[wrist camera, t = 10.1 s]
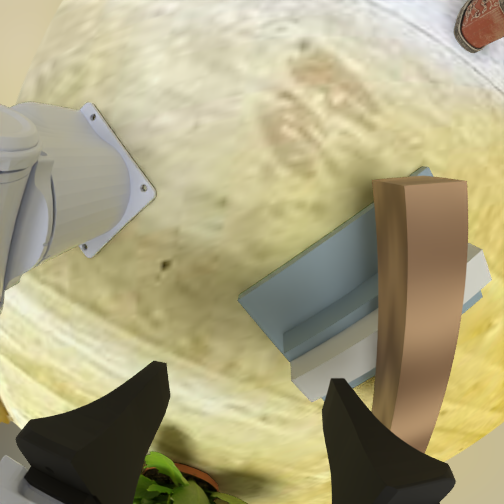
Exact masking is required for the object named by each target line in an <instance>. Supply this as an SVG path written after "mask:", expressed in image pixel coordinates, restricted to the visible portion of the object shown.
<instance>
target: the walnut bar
mask: <svg viewBox="0 0 504 504" xmlns="http://www.w3.org/2000/svg"><path fill="white" fill-rule="evenodd" d="M372 187H373V197H374V208H375V220H376V235H377V254H378V339H377V358H376V373H375V385H374V395H373V405H372V413H373V414H374V416H375V417H376V418H377V419H378V420H379V421H380V422H381V423H382V424H383V425H384V426H386V427H387V428H388V429H389V430H390V431H391V432H393V433H394V434H395V435H396V436H397V437H399V438H400V439H402V440H403V441H404V442H406V443H407V444H409V445H410V446H412V447H414V448H415V449H417V450H419V451H420V452H422V453H425V451H426V448H427V446H428V443H429V440H430V438H431V435H432V432H433V429H434V427H435V424H436V421H437V418H438V415H439V411H440V408H441V405H442V402H443V398H444V395H445V391H446V387H447V384H448V380H449V376H450V372H451V368H452V363H453V359H454V354H455V349H456V344H457V339H458V334H459V328H460V321H461V315H462V308H463V300H464V291H465V281H466V269H467V252H468V195H467V181H462V180H455V179H448V178H440V177H432V176H411V177H399V178H388V179H377V180H372Z"/></svg>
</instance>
